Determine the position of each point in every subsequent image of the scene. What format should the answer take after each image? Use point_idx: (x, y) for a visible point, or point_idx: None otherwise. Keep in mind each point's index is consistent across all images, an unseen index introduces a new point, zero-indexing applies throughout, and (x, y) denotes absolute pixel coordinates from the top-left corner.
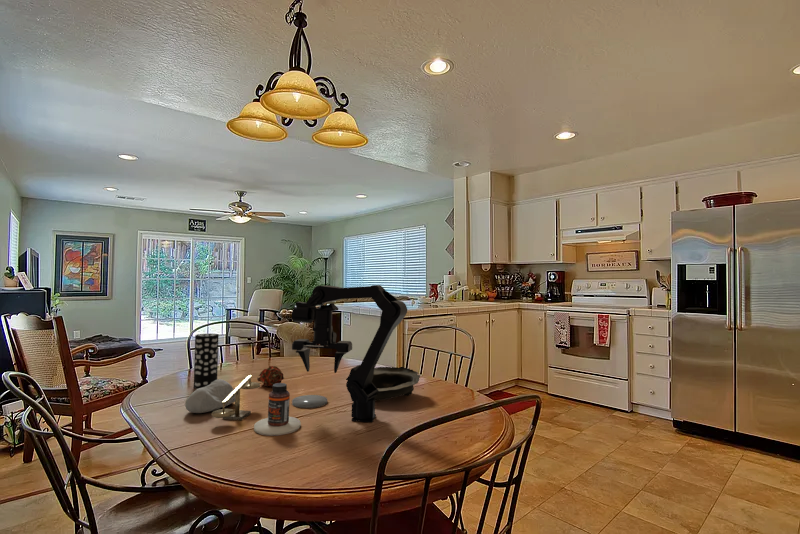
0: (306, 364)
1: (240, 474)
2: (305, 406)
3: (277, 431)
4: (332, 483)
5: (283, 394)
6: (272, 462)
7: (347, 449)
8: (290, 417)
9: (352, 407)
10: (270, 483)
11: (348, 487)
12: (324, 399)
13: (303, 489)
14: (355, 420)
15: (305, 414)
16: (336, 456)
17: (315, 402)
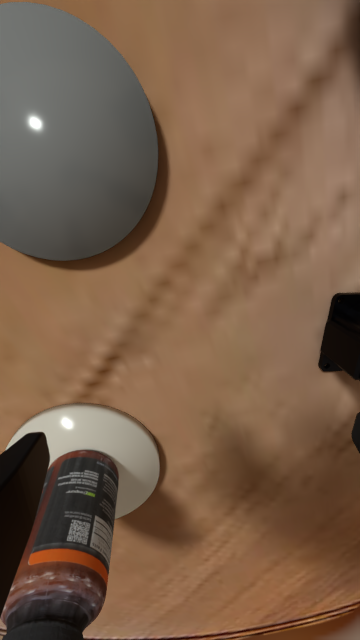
0: (3, 592)
1: (146, 627)
2: (77, 259)
3: (118, 515)
4: (305, 609)
5: (89, 623)
6: (180, 592)
7: (319, 522)
8: (94, 419)
9: (347, 372)
10: (209, 630)
11: (331, 610)
12: (135, 121)
13: (265, 627)
14: (333, 369)
15: (120, 336)
16: (299, 549)
17: (106, 199)
